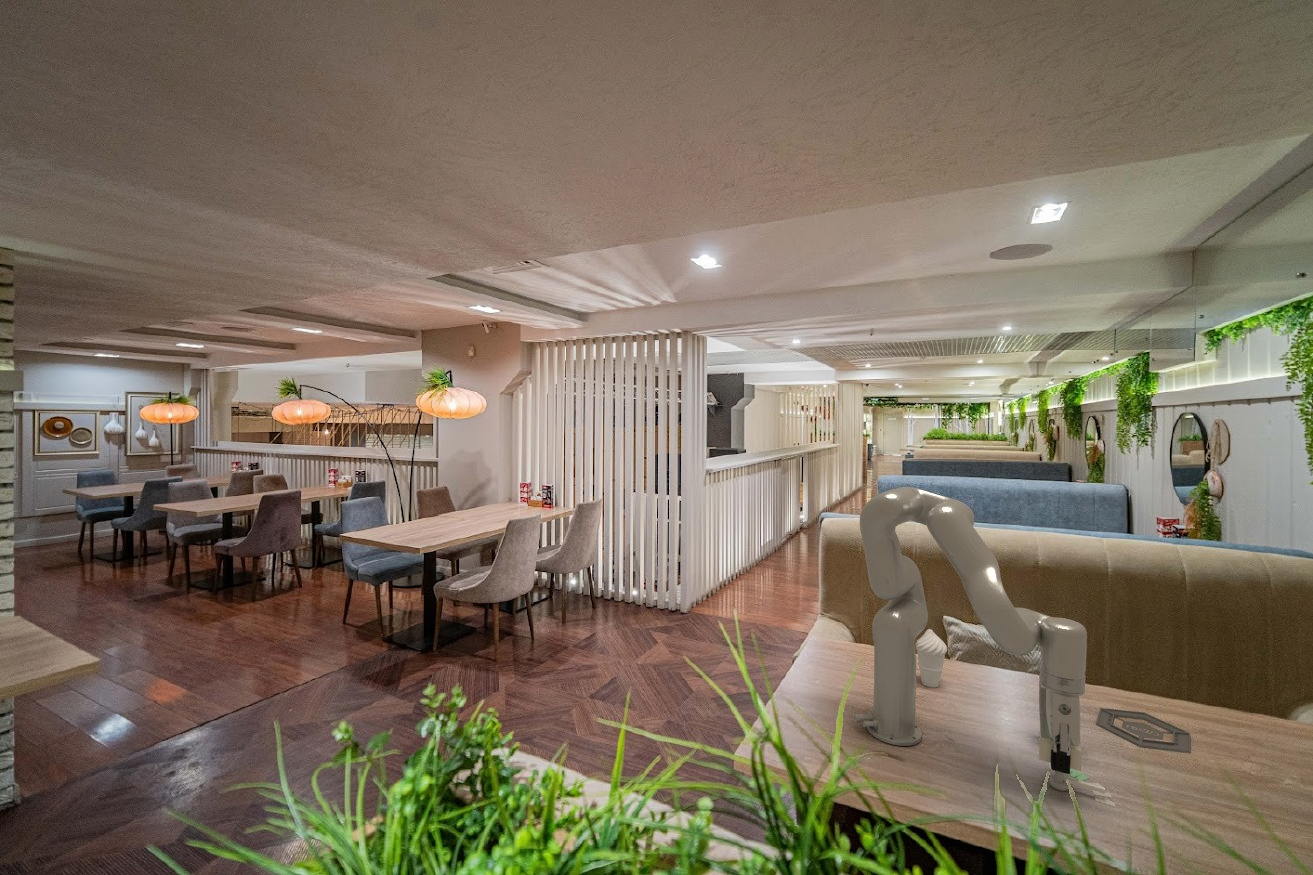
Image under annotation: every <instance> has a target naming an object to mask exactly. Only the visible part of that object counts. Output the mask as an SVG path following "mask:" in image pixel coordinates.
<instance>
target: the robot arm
mask: <svg viewBox="0 0 1313 875" xmlns="http://www.w3.org/2000/svg"><path fill="white" fill-rule="evenodd" d="M859 515H860V516H859V530H860V535H861V540H862V545H863V551H864V556H865V557H864V558H865V563H866V569H867V574H868V582H869V585H870V588H871V591H872V592H873V593H874V595H875V596H876V597H877V598H879V599H882V600H885V601H887V603H886V605H884V606H882V607H881V608H880V609H879V610H878V611H877V612H876V614H875V615H874V617H873V620H872V623H871V625H872V626H871V631H872V639H873V640H872V641H873V648H874V649H873V654H874V655H873V656H874V660H873V661H874V662H873V666H874V667H873V675H874V676H873V707H870V708H869V712H866V713H865V714H864V713H863V714H862V713H854V714H853V720H854V723H857V724H858V723H861V724H862V725H863V727H864V728H866V729H867V731H868V733H869V734H871V736H873V737H875V739H877V740H879V741H882V742H884V743H887V744H889V745H893V746H898V747H901V746H902V747H910V746H915V745H917V744H919V743H920V742H921V741H922V738H923V733H922V730H921V728H920V727H919V726H918V725H917V724H916V709H917V707H916V705H917V704H916V702H917V698H916V697H917V654H916V653H917V652H916V645H915V640H916V637H918V636H919V634H921V633H922V632H923V631H924V629H925V628H926V626H927V624H928V620H929V612H928V607H927V601H926V595H925V591H924V585H923V579H922V574H921V571H920V569H919V567H918V566H917V564H916V563H915V562H914V561H913V559H911V558H910V557H908V556H906V555H904V554H902V550H901V549H902V548H901V543H900V539H899V537H898V534H897V531H896V528H897V527H898V526H899V525H901V524H904V523H908V522H910V521H911V522H915V523H917V524H920V525H924V526H926V527H927V530H928V532H929V533H930V535H931V537H932V538H933V539H934V541H935V542H936V544H937V545H938V547H939V548H940V549H941V551H942V552H943V554H944V555H945V557H946V559H947V560H948V561H949V563H950V564H951V566H952V567H953V569H954V570H955V572H956V573H957V574H958V577H959V578H960V580H961V583H962V586H963V589H964V592H965V593H966V595H967V598H968V600H969V603H970V605H971V607H972V609H973V611H974V613H975V614H976V616H977V618H978V619H979V622H980V623H981V625H983V628H984V629H985V630H986V632H987V633H988V634H989V636H990V638H991V639H992V640H993V641H994V643H995V644H996V645H997V647H999V648H1000V649H1001V650H1003V651H1004V652H1005V653H1007V654H1010V655H1013V656H1026V655H1028V654H1031V652H1033V651H1034V649H1035V648H1036V646H1038V647H1040V666H1039V667H1040V669H1039V670H1040V671H1039V672H1040V673H1039V675H1040V684H1041V685H1042V686H1043V687H1045V688H1046V716H1047V724H1048V728H1049V733H1050V737H1051V740H1053V750H1052V749H1051V769H1052V770H1051V771H1054V770H1055V771H1058V772H1062V773H1066V774H1070V760H1071V755H1070V738H1071V740H1072V742H1073V744H1074V745H1076V746H1077V747H1080V745H1081V704H1080V702H1081V701H1080V697H1081V696H1083V695H1085V694H1086V673H1087V672H1086V671H1087V669H1086V668H1087V644H1088V643H1087V642H1088V641H1087V640H1088V633H1087V629H1086V627H1085V626H1084V625H1083V624H1082V623H1080V622H1079V621H1075V620H1073V619H1069V618H1064V617H1056V616H1055V617H1053V616H1050V615H1046V614H1044V613H1040V612H1038V611H1035V610H1032V609H1029V608H1024V607H1015V606H1014V605H1013V603H1012V602H1011V600H1010V598H1009V596H1008V594H1007V592H1006V590H1005V588H1004V585H1003V581H1002V578H1001V572H1000V571H1001V570H1000V565H999V563H998V560H997V558H996V556H995V555H994V554H993V552H992V551H991V550H990V548H989V547H988V546H987V544H986V543H985V541H984V539H983V538H982V537H981V535H980V534H979V532H978V531H977V529H975V527H974V524H975V515H974V512H973V510H972V508H970V507H969V505H967V504H966V503H964V502H962V501H960V500H958V499H955V498H952V497H947V496H944V495H941V494H936V493H933V492H931V491H927V490H923V489H920V488H916V487H912V486H899V487H897V488H891V489H888V490H886V491H883V492H880V493H879V494H876V495H875V496H874V497H872V498H870V500H868V501H867V503H866V504H865V505H864V506H863V508H862V510H861V512H860V514H859ZM1057 742H1060V744H1059V743H1057ZM1066 774H1065V775H1066Z"/></svg>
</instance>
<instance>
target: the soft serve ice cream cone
mask: <svg viewBox="0 0 1313 875" xmlns="http://www.w3.org/2000/svg"><path fill="white" fill-rule="evenodd" d="M914 646H915V650H916V653H917V654H916V655H917V660H918V661H917V666H918V669H919V674H920V679H921V683H922V685H924V686H925V687H928V688H932V689H933V688H938V687H939V685H940V680H941V676H942V672H943V671H944V662H945V661H944V660H945V659H946V656H945V655H946V654H947V651H948V646H947V645H946V643H945V642H944V641H943V640H942V639H941V638H940V637H939V636H938V635H937V634H936V633H935V632H934V631H933V629H932V628H928V629H927V630H925V632H924V633H923V635H922V636H921V637H920V638H918V639H916V643H914Z"/></svg>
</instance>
